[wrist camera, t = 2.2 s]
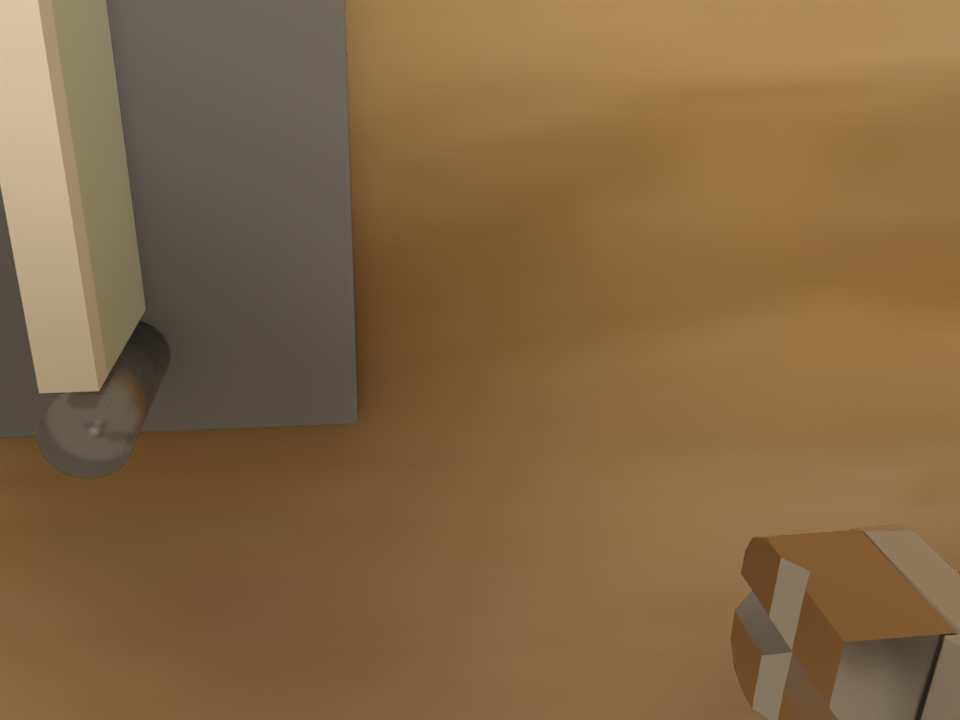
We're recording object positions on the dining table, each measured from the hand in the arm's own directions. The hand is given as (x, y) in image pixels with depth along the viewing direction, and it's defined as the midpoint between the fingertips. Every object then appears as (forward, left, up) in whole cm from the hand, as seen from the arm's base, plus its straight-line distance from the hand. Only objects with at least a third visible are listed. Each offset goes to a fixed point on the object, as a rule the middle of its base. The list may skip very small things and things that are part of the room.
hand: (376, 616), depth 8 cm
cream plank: (+2, +6, -16) cm, 18 cm away
